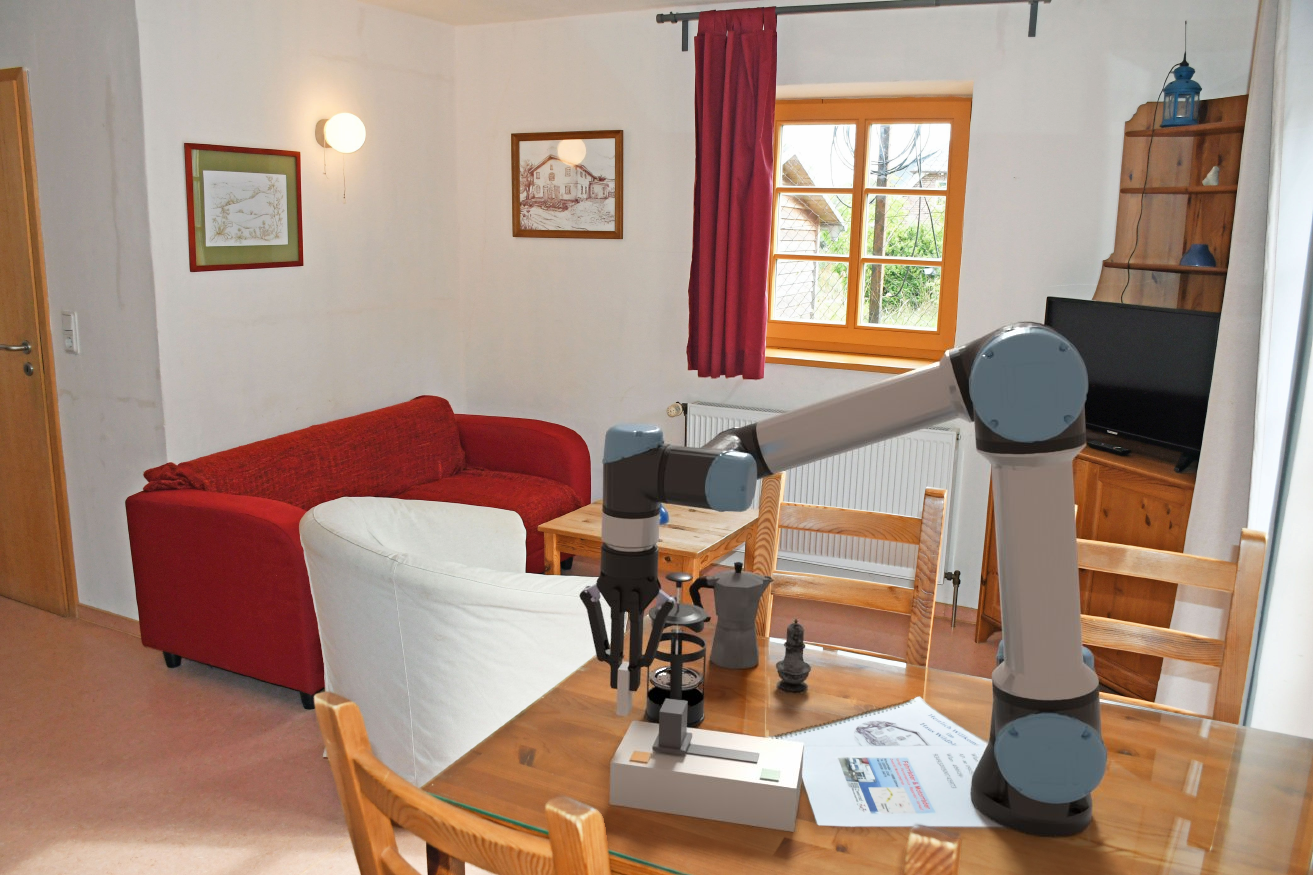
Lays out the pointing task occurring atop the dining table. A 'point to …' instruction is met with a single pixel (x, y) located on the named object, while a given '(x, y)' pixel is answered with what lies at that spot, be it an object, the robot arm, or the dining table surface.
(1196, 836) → the dining table surface
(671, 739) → the grey slider handle
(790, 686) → the salt shaker
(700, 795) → the slider switch box
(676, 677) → the french press
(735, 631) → the coffeepot
